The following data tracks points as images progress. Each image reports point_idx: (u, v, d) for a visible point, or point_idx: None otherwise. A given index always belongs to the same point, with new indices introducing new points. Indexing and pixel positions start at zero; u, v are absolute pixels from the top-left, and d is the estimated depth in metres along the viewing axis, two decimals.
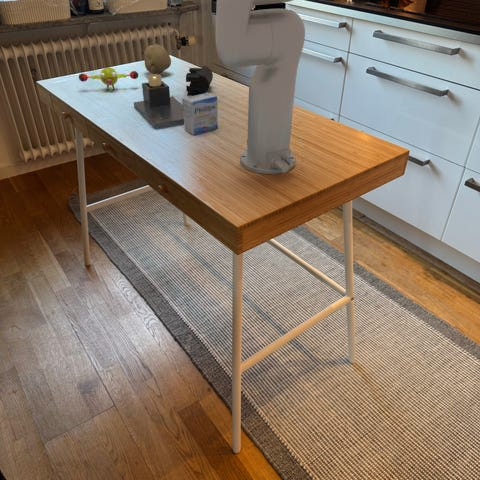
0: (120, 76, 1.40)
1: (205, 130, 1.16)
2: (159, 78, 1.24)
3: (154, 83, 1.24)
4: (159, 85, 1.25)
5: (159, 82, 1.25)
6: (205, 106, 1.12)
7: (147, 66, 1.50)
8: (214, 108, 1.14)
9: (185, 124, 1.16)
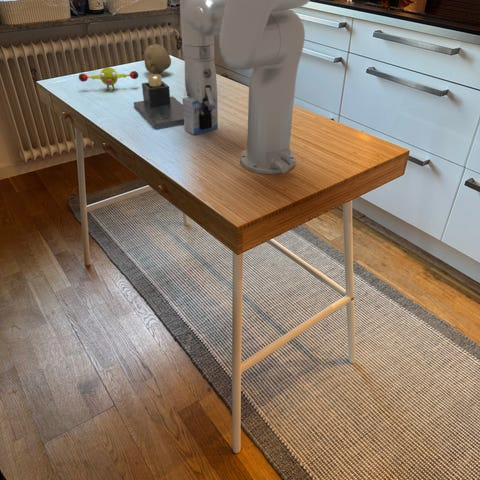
0: (120, 76, 1.40)
1: (205, 130, 1.16)
2: (159, 78, 1.24)
3: (154, 83, 1.24)
4: (159, 85, 1.25)
5: (159, 82, 1.25)
6: (205, 105, 1.12)
7: (147, 66, 1.50)
8: (214, 108, 1.14)
9: (185, 124, 1.16)
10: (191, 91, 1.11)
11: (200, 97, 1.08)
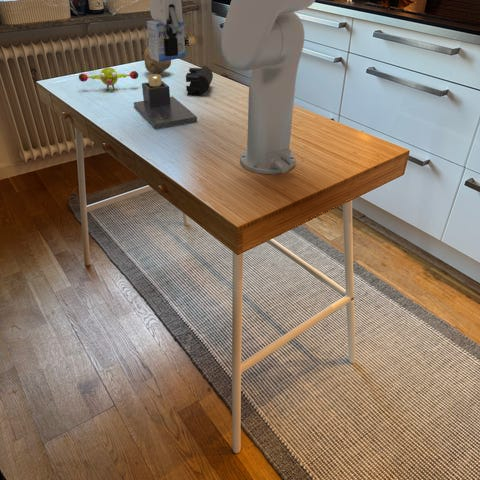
0: (120, 76, 1.40)
1: (171, 58, 1.11)
2: (159, 78, 1.24)
3: (154, 83, 1.24)
4: (159, 85, 1.25)
5: (159, 82, 1.25)
6: None
7: (147, 66, 1.50)
8: (180, 33, 1.09)
9: (150, 51, 1.10)
10: (155, 13, 1.05)
11: (164, 17, 1.02)
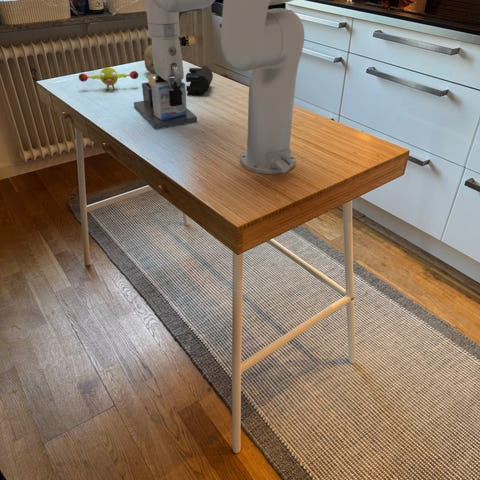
0: (120, 76, 1.40)
1: (173, 116, 1.20)
2: None
3: None
4: None
5: None
6: None
7: (147, 66, 1.50)
8: None
9: (154, 109, 1.19)
10: (158, 69, 1.13)
11: (166, 75, 1.10)
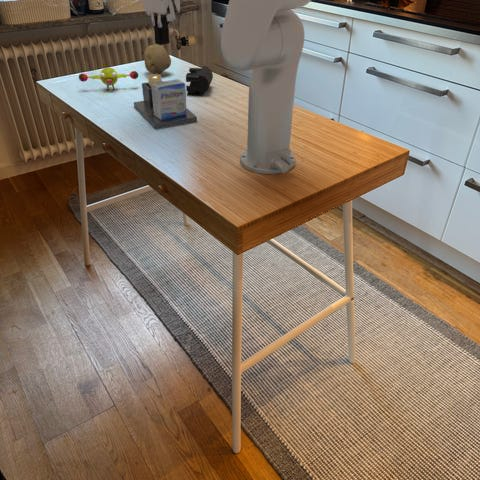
0: (120, 76, 1.40)
1: (173, 116, 1.20)
2: (159, 78, 1.24)
3: None
4: None
5: None
6: (172, 91, 1.16)
7: (147, 66, 1.50)
8: (181, 94, 1.18)
9: (154, 109, 1.19)
10: (151, 3, 1.05)
11: (164, 7, 1.03)
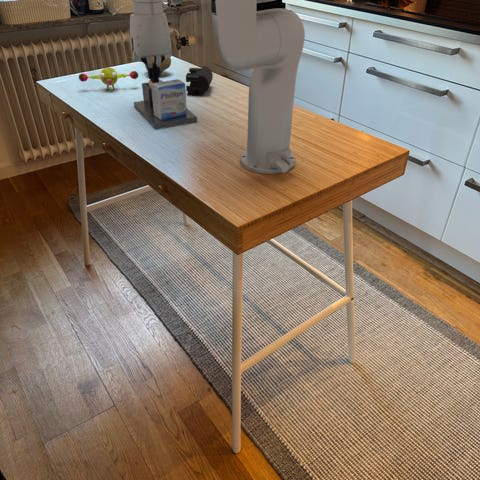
0: (120, 76, 1.40)
1: (173, 116, 1.20)
2: None
3: None
4: None
5: None
6: (172, 91, 1.16)
7: None
8: (181, 94, 1.18)
9: (154, 109, 1.19)
10: (154, 48, 1.19)
11: (170, 47, 1.21)
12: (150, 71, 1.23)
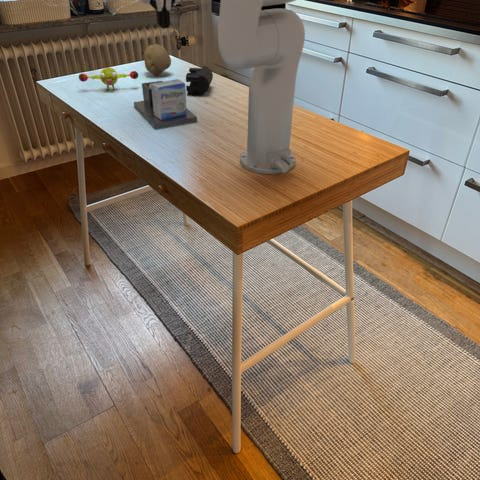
0: (120, 76, 1.40)
1: (173, 116, 1.20)
2: None
3: None
4: None
5: None
6: (172, 91, 1.16)
7: (147, 66, 1.50)
8: (181, 94, 1.18)
9: (154, 109, 1.19)
10: None
11: None
12: (159, 15, 1.14)
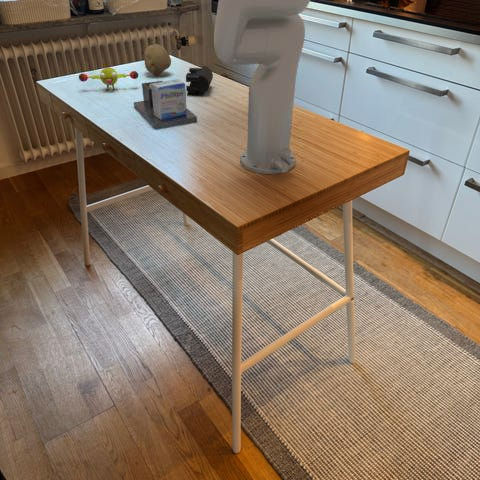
0: (120, 76, 1.40)
1: (173, 116, 1.20)
2: None
3: None
4: None
5: None
6: (172, 91, 1.16)
7: (147, 66, 1.50)
8: (181, 94, 1.18)
9: (154, 109, 1.19)
10: None
11: None
12: None
